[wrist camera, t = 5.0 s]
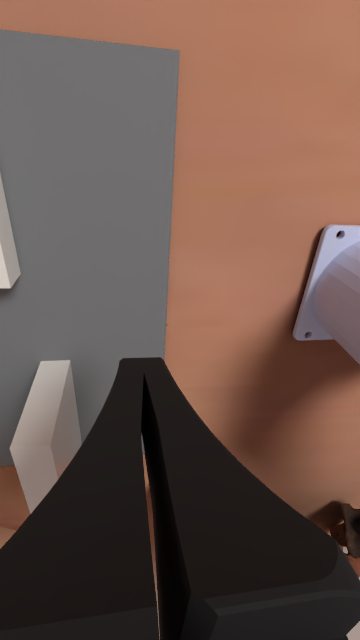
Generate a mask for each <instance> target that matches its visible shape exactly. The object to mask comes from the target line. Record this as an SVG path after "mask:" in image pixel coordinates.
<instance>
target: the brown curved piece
mask: <svg viewBox="0 0 360 640" xmlns="http://www.w3.org/2000/svg"><path fill="white" fill-rule="evenodd" d="M339 508H340V510H341V513H342V516H343V520H344V523H342V524H339V525H336V526H332V527H330V533H331V537H333V538H334V539H335V540H336V541H337V543H338V545H339V546H340V548H341V549H342V550H343V547H344V546H345V547H347V550H348V554H346V553H344V554H345V556H346V557H347V559H348V560H349V562H350V564H351V565H352V567H353V569H354V571H355V572H356V574H357V576H358V578H359V577H360V509H354V508H352V507H351V506H350V504H340V505H339Z"/></svg>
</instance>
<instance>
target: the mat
mask: <svg viewBox="0 0 360 640" xmlns="http://www.w3.org/2000/svg"><path fill="white" fill-rule="evenodd" d="M178 70H179V50H170V49H162V48H153V47H145V46H136V45H128V44H119V43H111V42H102V41H94V40H85V39H77V38H68V37H60V36H51V35H42V34H34V33H25V32H17V31H8V30H0V174H1V179H2V184H3V189H4V194H5V199H6V204H7V208H8V213H9V218H10V223H11V228H12V233H13V238H14V243H15V248H16V253H17V258H18V263H19V267H20V272H21V274H20V276H19V277H18V279H17V280H16V282H15V283H14V284H13V286H12V287H11V288H0V466H11V465H15V464H14V461H13V458H12V455H11V452H10V446H11V443H12V440H13V437H14V435H15V432H16V429H17V426H18V423H19V421H20V418H21V415H22V412H23V409H24V407H25V404H26V401H27V398H28V395H29V393H30V390H31V387H32V384H33V381H34V379H35V376H36V373H37V370H38V367H39V364H40V362H41V361H58V360H70V362H71V369H72V376H73V384H74V391H75V398H76V405H77V412H78V419H79V427H80V434H81V441H82V444H83V442H84V440H85V439H86V437H87V435H88V434H89V432H90V430H91V428H92V427H93V425H94V423H95V421H96V419H97V417H98V415H99V414H100V412H101V410H102V408H103V406H104V404H105V401H106V399H107V397H108V395H109V392H110V390H111V388H112V385H113V383H114V380H115V377H116V374H117V371H118V367H119V361H120V360H121V359H122V358H148V357H161V358H162V359H163V360H164V354H165V334H166V314H167V293H168V273H169V253H170V233H171V212H172V192H173V172H174V151H175V131H176V111H177V90H178ZM141 441H142V454H145V452H144V445H143V438H142V436H141ZM82 444H81V445H82Z"/></svg>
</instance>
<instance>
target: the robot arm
mask: <svg viewBox="0 0 360 640" xmlns="http://www.w3.org/2000/svg"><path fill="white" fill-rule="evenodd" d="M339 231H341V234H340V235H339V236H338V237H336V235H337V233H338V232H339ZM307 332H309V333H308V334H306V333H307ZM305 334H306V335H305ZM293 337H294V338H295V339H296V340H298V341H305V340H333V339H334V340H335V341H336V342H337V343H338V344H339V345H340V346H341V347H342V348H343V349H344V350H345V351H346V352H347V353H348V354H349V355H350V356H351V357H352V358H353V359H354V360H355V361H356V362H357V363H358V364H359V365H360V225H328V226H327V227H325V228H324V229H323V231H322V234H321V237H320V241H319V244H318V247H317V251H316V254H315V258H314V261H313V265H312V268H311V271H310V275H309V278H308V282H307V285H306V289H305V292H304V295H303V299H302V302H301V306H300V309H299V313H298V316H297V320H296V323H295V326H294V330H293ZM141 436H142V438H143V445H144V452H145V459H146V466H147V473H148V479H149V486H150V493H151V500H152V509H153V521H154V537H155V554H156V572H157V590H158V609H159V628H158V613H157V601H156V592H155V583H154V574H153V564H152V554H151V544H150V534H149V524H148V513H147V502H146V491H145V479H144V467H143V454H142V441H141ZM359 621H360V580H359V578H358V576H357V574H356V572H355V571H354V569H353V567H352V565H351V564H350V562H349V560H348V559H347V557H346V556H345V554H344V552H343V551H342V549H341V548H340V546H339V545H338V543H337V541H336V540H335V539H334V538H333V537H331V536H330V535H328V534H327V533H326V532H324V531H323V530H322V529H320V528H319V527H317V526H316V525H315V524H313V523H312V522H311V521H309V520H308V519H306V518H305V517H304V516H302V515H301V514H299V513H298V512H297V511H295V510H294V509H293V508H292V507H290V506H289V505H288V504H287V503H285V502H284V501H283V500H282V499H281V498H279V497H278V496H277V495H276V494H274V493H273V492H272V491H271V490H270V489H269V488H267V487H266V486H265V485H264V484H263V483H262V482H261V481H260V480H259V479H258V478H256V477H255V476H254V475H253V474H252V473H251V472H250V471H249V470H248V469H246V468H245V467H244V466H243V465H242V464H241V463H240V462H239V461H238V460H237V459H236V458H235V457H234V456H233V455H232V454H231V453H230V452H229V451H228V450H227V449H226V448H225V447H224V445H223V444H222V443H221V442H220V441H219V440H218V439H217V438H216V437H215V435H214V434H213V433H212V432H211V431H210V430H209V428H208V427H207V426H206V425H205V423H204V422H203V421H202V420H201V418H200V417H199V416H198V415H197V413H196V412H195V411H194V409H193V408H192V406H191V405H190V404H189V402H188V401H187V399H186V398H185V396H184V395H183V393H182V392H181V390H180V389H179V387H178V386H177V384H176V382H175V381H174V379H173V377H172V375H171V374H170V372H169V370H168V368H167V366H166V364H165V362H164V360H163V359H162V358H161V357H148V358H122V359H121V360H120V361H119V367H118V371H117V374H116V377H115V380H114V383H113V385H112V388H111V390H110V392H109V395H108V397H107V399H106V401H105V404H104V406H103V408H102V410H101V412H100V414H99V415H98V417H97V419H96V421H95V423H94V425H93V427H92V428H91V430H90V432H89V434H88V435H87V437H86V439H85V440H84V442H83V444H82V445H81V447H80V448H79V450H78V451H77V453H76V454H75V456H74V457H73V459H72V460H71V462H70V463H69V465H68V466H67V468H66V469H65V470H64V472H63V473H62V475H61V476H60V477H59V479H58V480H57V482H56V483H55V484H54V486H53V487H52V488H51V490H50V491H49V492H48V493H47V495H46V496H45V497H44V498H43V500H42V501H41V502H40V503H39V504H38V506H37V507H36V508H35V509H34V511H33V512H32V513H31V514H30V515H29V517H28V518H27V519H26V520H25V521H24V523H23V524H22V525H21V526H20V528H19V529H18V530H17V531H16V532H15V533H14V535H13V536H12V537H11V538H10V539H9V540H8V541H7V542H6V544H5V545H4V546H3V547H2V548H1V549H0V640H159V629H160V640H348V638H347V636H346V634H347V633H348V632H349V631H350V630H351V629H352V628H353V627H354V626H355V625H356V624H357V623H358V622H359Z"/></svg>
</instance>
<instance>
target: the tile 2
mask: <svg viewBox="0 0 360 640" xmlns="http://www.w3.org/2000/svg"><path fill="white" fill-rule="evenodd" d="M81 444H82V441H81V434H80V427H79V419H78V412H77V405H76V398H75V391H74V384H73V376H72V369H71V362H70V360H58V361H41V362H40V364H39V367H38V370H37V373H36V376H35V379H34V381H33V384H32V387H31V390H30V393H29V395H28V398H27V401H26V404H25V407H24V409H23V412H22V415H21V418H20V421H19V423H18V426H17V429H16V432H15V435H14V437H13V440H12V443H11V446H10V452H11V455H12V458H13V461H14V464H15V467H16V471H17V474H18V477H19V480H20V483H21V486H22V489H23V493H24V496H25V499H26V502H27V505H28V508H29V511H30V514H31V513H32V512H33V511H34V509H35V508H36V507H37V506H38V504H39V503H40V502H41V501H42V500H43V498H44V497H45V496H46V495H47V493H48V492H49V491H50V490H51V488H52V487H53V486H54V484H55V483H56V482H57V480H58V479H59V477H60V476H61V475H62V473H63V472H64V470H65V469H66V468H67V466H68V465H69V463H70V462H71V460H72V459H73V457H74V456H75V454H76V453H77V451H78V450H79V448H80V447H81Z"/></svg>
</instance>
